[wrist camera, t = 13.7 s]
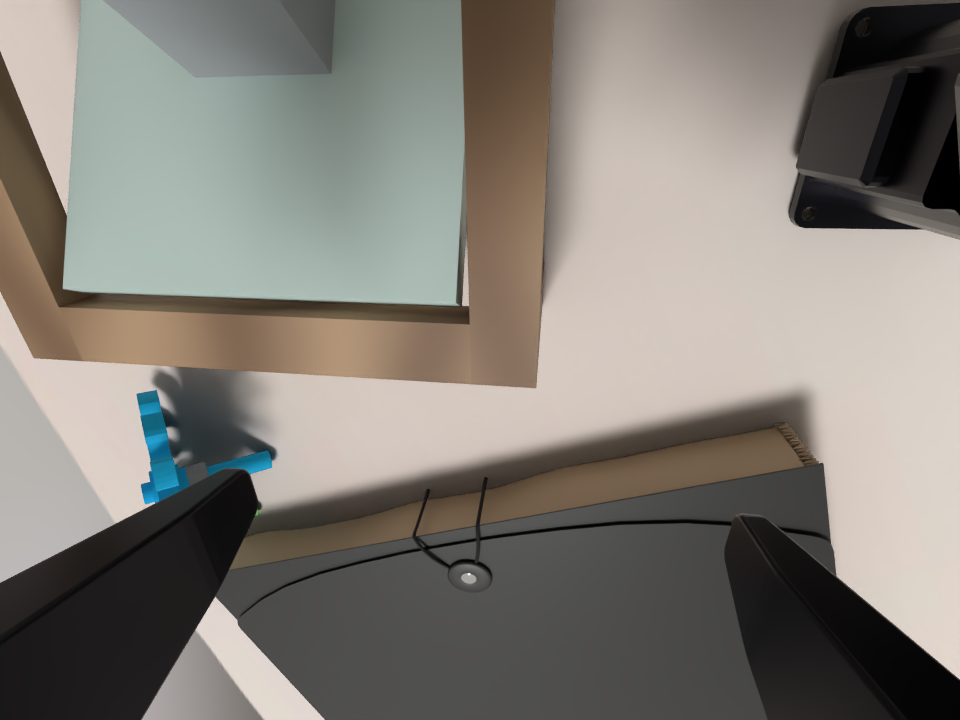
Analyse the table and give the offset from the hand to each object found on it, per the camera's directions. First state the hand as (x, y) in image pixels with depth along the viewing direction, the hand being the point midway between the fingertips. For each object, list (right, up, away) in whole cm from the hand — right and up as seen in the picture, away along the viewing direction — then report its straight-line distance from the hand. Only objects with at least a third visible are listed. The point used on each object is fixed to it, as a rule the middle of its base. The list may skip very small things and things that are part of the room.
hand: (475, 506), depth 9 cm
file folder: (+3, -14, +22) cm, 27 cm away
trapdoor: (-7, +11, +7) cm, 15 cm away
